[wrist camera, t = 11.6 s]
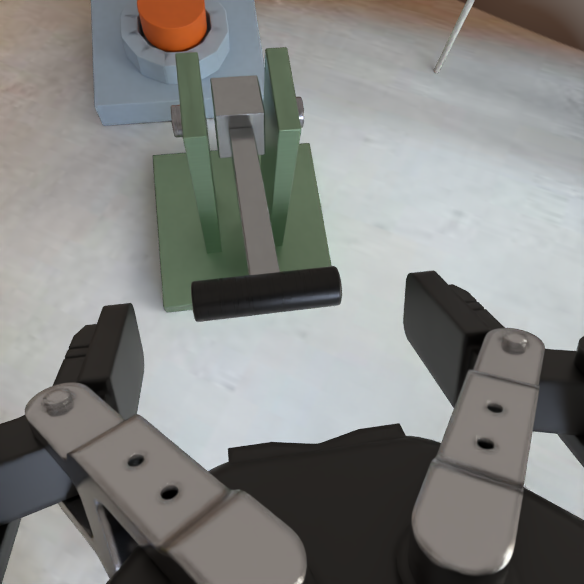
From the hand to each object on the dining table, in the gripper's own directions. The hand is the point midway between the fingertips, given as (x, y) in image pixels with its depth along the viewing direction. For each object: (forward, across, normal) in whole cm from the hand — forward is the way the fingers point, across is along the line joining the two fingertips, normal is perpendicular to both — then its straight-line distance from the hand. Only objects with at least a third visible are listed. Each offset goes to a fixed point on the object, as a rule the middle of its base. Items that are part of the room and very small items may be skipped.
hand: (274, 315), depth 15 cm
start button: (+28, +3, -8) cm, 29 cm away
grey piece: (+30, +3, -5) cm, 31 cm away
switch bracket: (+20, 0, +5) cm, 21 cm away
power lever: (+8, 0, -1) cm, 8 cm away
